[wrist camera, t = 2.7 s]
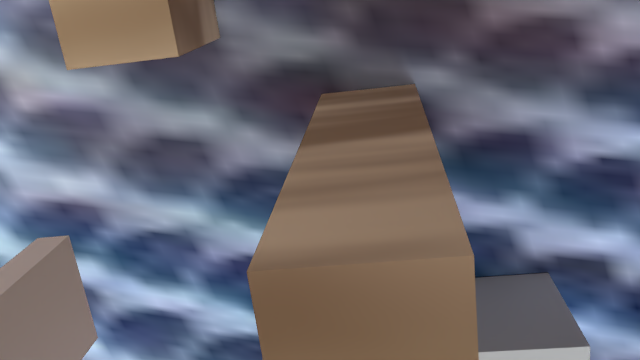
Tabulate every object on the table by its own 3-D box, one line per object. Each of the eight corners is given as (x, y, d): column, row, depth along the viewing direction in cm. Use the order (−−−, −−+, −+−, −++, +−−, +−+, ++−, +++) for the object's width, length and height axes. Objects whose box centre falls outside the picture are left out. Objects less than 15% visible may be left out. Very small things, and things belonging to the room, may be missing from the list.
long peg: (321, 94, 22) (246, 271, 9) (414, 83, 22) (473, 255, 9) (332, 181, 24) (279, 447, 10) (421, 173, 23) (482, 441, 10)
